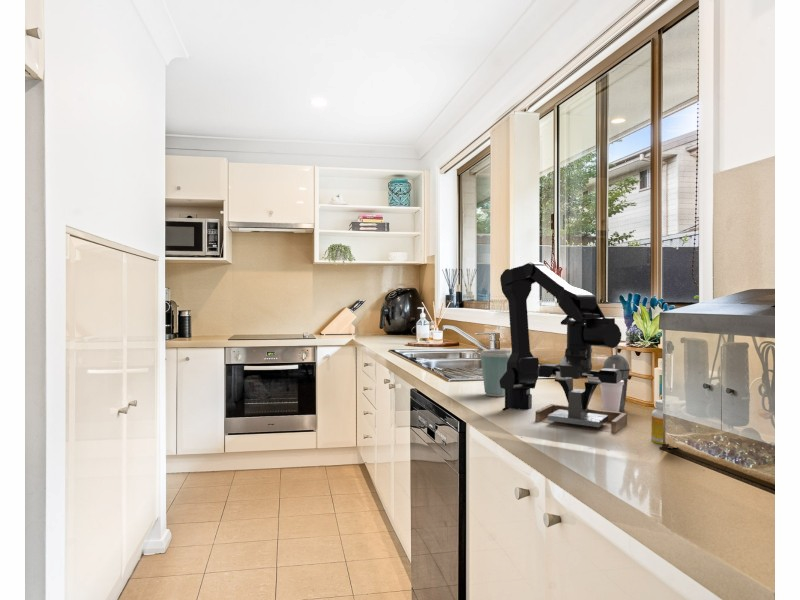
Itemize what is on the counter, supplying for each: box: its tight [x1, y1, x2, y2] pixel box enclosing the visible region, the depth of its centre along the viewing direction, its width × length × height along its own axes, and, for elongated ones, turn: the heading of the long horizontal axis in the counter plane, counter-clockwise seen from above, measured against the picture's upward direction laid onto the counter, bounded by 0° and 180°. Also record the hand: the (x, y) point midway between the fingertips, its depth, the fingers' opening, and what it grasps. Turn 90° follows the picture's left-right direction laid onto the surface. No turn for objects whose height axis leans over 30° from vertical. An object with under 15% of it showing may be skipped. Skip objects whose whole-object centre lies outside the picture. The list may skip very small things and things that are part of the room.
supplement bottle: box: [650, 399, 663, 445], centre depth 119 cm, size 5×5×10 cm
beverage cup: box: [602, 344, 631, 412], centre depth 158 cm, size 7×7×20 cm
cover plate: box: [548, 388, 608, 427], centre depth 134 cm, size 12×9×7 cm
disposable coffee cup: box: [479, 348, 512, 397], centre depth 178 cm, size 11×11×15 cm
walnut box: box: [534, 403, 628, 434], centre depth 136 cm, size 19×12×4 cm, turn 56°
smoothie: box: [599, 364, 624, 412], centre depth 149 cm, size 6×6×14 cm
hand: (578, 408), depth 134 cm, fingers closed on cover plate, 3 cm apart
